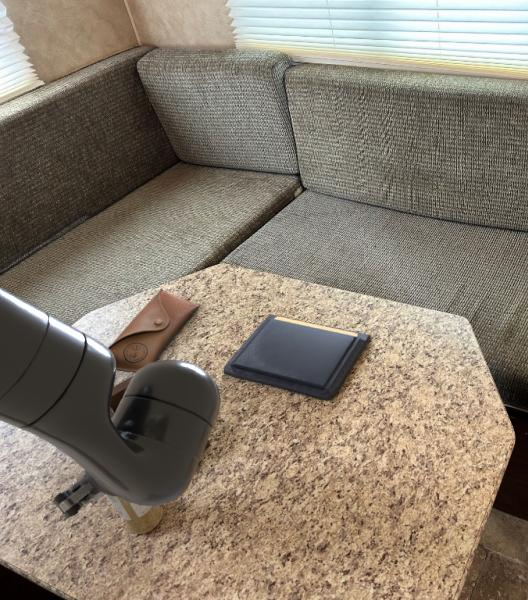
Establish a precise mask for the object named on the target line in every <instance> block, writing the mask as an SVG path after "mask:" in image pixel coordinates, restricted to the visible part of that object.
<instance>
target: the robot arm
mask: <svg viewBox="0 0 528 600" xmlns="http://www.w3.org/2000/svg"><path fill="white" fill-rule="evenodd" d="M108 347H109V346H107V345H105V344H104V343H102V342H101V341H99V340H98V339H96V338H94V337H93V336H91V335H88V334H87V333H85V332H83V331H81V330H79V329H77V328H76V327H74V326H72V325H70V324H69V323H67V322H65V321H63V320H61V319H59V318H58V317H56V316H54V315H53V314H50V313H49V312H47V311H46V310H44V309H42V308H40V307H38V306H37V305H34V304H32V303H31V302H29V301H27V300H25V299H24V298H22V297H19V296H18V295H16V294H15V293H13V292H11V291H10V290H7V289H6V288H3V287H2V286H0V422H3V423H5V424H7V425H9V426H13V427H16V428H18V429H20V430H23V431H25V432H27V433H29V434H31V435H33V436H36V437H38V438H40V439H41V440H43V441H45V442H46V443H48V444H50V445H51V446H53V447H54V448H56V449H57V450H59V451H60V452H62V453H63V454H64V455H66V456H67V457H69V458H70V459H71V460H72V461H74V462H75V463H76V464H78V465H79V466H80V467H81V468H82V469H83V470H82V471H81V472H80V473H78V475H76V477H75V479H76V482H75V483H74V482H73V483H72V484H70V485H69V487H68V488H66V489H65V490H64V491H63V492H61V491H60V492H58V493H57V494H56V496H55V497H54V498H53V500H52V501H51V502H52V503H53V504H54V505H55V506H56V507H57V508H58V509H59V510H60V511H61V512H62V514H63V515H64V517H65V518H66V519H69V518H72V517H75V516H76V515H77V514H78V513H79V511H80V510H81V509H82V508H83V507H85V506H86V505H88V504H89V503H91V500H94V501H99V500H101V498H103V497H104V496H106V494H107V495H111V496H119V497H120V498H122V499H124V500H126V501H129V502H132V503H135V504H138V505H145V506H157V505H161V506H162V505H165V504H168V503H171V502H173V501H175V500H177V499H178V498H180V497H181V496H183V495H184V494H185V492H186V491H187V490H188V489H189V486H190V485H191V484H192V481H193V479H194V477H195V474H196V471H197V469H198V467H199V466H198V465H199V464H200V461H201V459H202V456H203V453H204V451H205V450H206V449H205V446H206V444H207V441H208V440H209V438H210V436H211V433H212V430H213V428H214V427H215V424H216V421H217V419H218V417H219V413H220V411H221V404H222V403H221V402H222V399H221V391H220V389H219V387H218V384H217V382H216V381H215V380H214V378H213V377H212V376H211V375H210V374H209V373H208V372H207V371H206V370H204V369H203V368H201V367H199V366H198V365H196V364H193V363H191V362H188V361H185V360H179V359H160V360H157V361H156V362H152V363H149V364H147V365H145V366H143V367H142V368H140V369H139V370H138V371H137V372H134V374H133V375H134V376H133V375H132V376H133V377H132V376H131V377H132V379H131V381H130V383H129V385H128V387H127V389H126V391H125V393H124V395H123V398H122V400H121V402H120V404H119V406H118V408H117V410H116V412H115V414H114V416H113V417H112V418H111V416H110V405H111V397H112V392H113V387H114V386H115V382H116V376H117V370H116V360H115V357H114V355H113V353H112V352H111V350H110V349H109V348H108ZM204 449H205V450H204Z"/></svg>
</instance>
